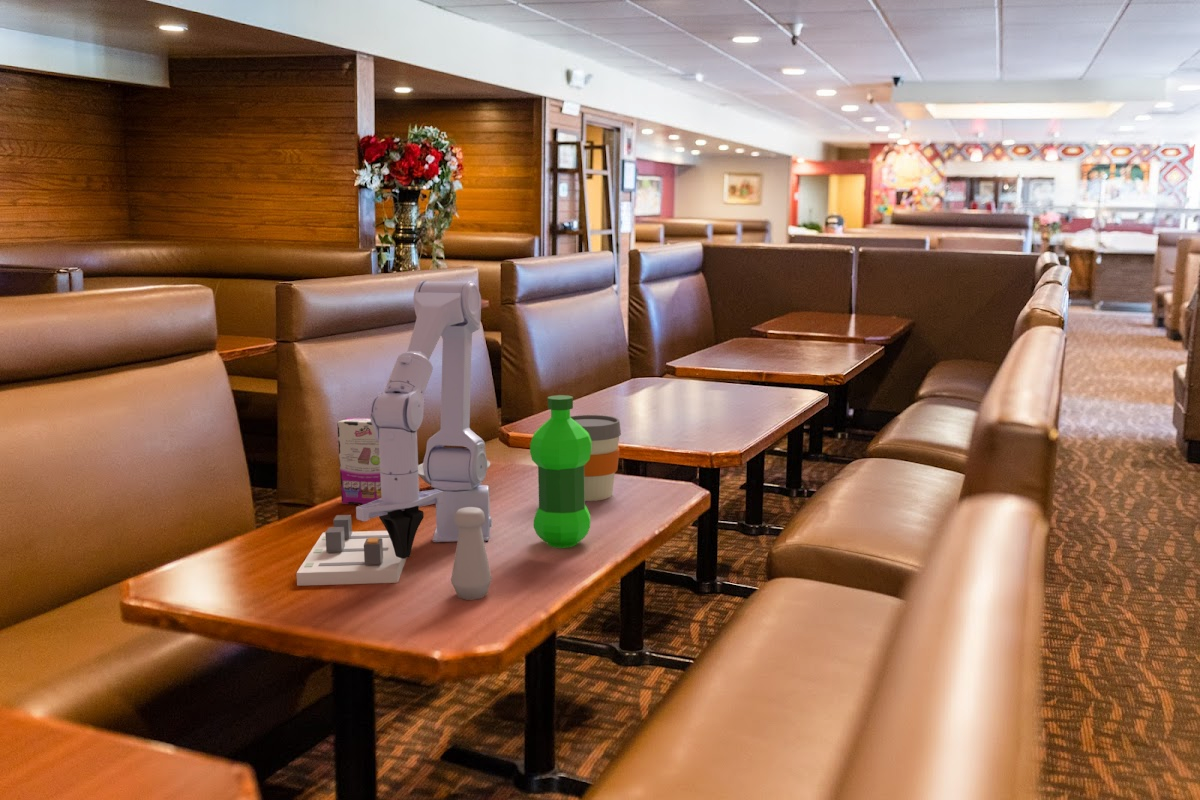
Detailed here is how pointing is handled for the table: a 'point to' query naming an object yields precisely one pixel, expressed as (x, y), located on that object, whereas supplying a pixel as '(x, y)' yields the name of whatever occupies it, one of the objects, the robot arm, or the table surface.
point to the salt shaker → (470, 556)
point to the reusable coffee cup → (600, 454)
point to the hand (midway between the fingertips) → (402, 556)
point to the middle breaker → (335, 539)
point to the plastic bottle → (561, 476)
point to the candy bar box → (358, 461)
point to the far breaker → (344, 524)
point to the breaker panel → (350, 563)
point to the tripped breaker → (373, 551)
